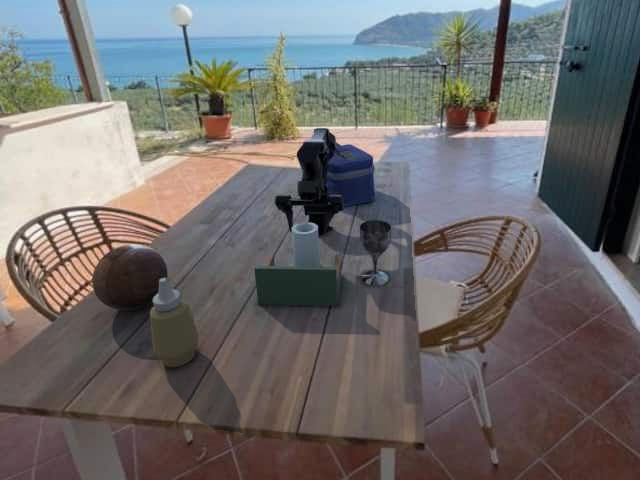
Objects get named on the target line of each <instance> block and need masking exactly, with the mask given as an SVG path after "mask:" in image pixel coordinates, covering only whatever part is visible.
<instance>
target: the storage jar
mask: <svg viewBox="0 0 640 480" xmlns="http://www.w3.org/2000/svg"><path fill="white" fill-rule="evenodd" d="M291 239H292V240H291V242H292V253H293V254H292V255H293V266H294V267H321V263H320V244H319V241H320V240H319V235H318V226H317V225H316V224H314V223H309V222H308V221H305V222H304V221H303V222H299V223H296V224H293V227H292V232H291Z"/></svg>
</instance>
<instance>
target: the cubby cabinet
mask: <svg viewBox="0 0 640 480" xmlns="http://www.w3.org/2000/svg"><path fill="white" fill-rule="evenodd" d="M275 256H276V253H275V252H268V253H267V255H266V257H265V259H264V261H263V263H262V265H255V267H254V277H255V279H254V280H255V287H256V294H257V295H256V296H257V304H258V306H259V305H262V306H265V305H267V306H312V307H313V306H315V307H338V303H339V296H340V290H341V289H340V288H341V282H342V281H341V279H342V257H343V254H342V253H335V255H334V259H333V266H320V267H294V265H293V266H292V265H291V266H289V265H286V266H284V265H276V263H275Z"/></svg>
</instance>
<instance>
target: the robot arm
mask: <svg viewBox="0 0 640 480" xmlns="http://www.w3.org/2000/svg"><path fill="white" fill-rule="evenodd" d="M336 143H337V139H336V136H335V134H334V133H332V132H330V129H329V128H328V127H316V128H314V129H313V134H312V135H311V138H310V139H305V140H304V141H302V144H301V145H300V147H299V148H298V150H297V151H296V158H297V161H298V164H299V166H300V169H301V173H302V174H301V179H300V180H298V181H297V190H296V191H297V196H298V197H299V198H292V196H291V194H290V193H289V194H287V193H286V194H282V193H279V194H278V193H277V195H275V197H274V205H275V206H276V208H277V209H278V211H281V213H283V214H285V217H286V221H287V225H288V229H289V232H290V233H292V227H293V226H294V211H293V207H296V206H298V207H303V211H304V216H308V221H307V222H309V223H314V224H316V225H317V226H318V236H322V235H324V234H326V233H328V232H330V231H331V230H333V228H334V227H333V226H331V225H330V224H331V222H332V220H333V218H334V217H335V216H336V214H339V213H340V212H343V211H344V208H345V206H344V201H343V197H342V196H341V195H329V192H328V190H327V186H326V182H327V173H328V164H329V160H330V159H331V158H332V157H333V156H334V150H336Z"/></svg>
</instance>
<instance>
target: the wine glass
mask: <svg viewBox="0 0 640 480" xmlns="http://www.w3.org/2000/svg"><path fill="white" fill-rule="evenodd" d="M359 239H360V244H361V247H362V249H363V250H364V252H366V253H367V254H368V255H369V257H370V258H371V260H372V266H373V269H372V270H368V271H365V272H364V273H362V275H361V277H360V279H361V281H362V282H363V283H364V284H366V285H368V286H371V287H373V286H374V287H377V286H378V287H379V286H383V285H384V284H386V283H387V282H388V281H389V276H388V274H386V272H384V271H381V270H377V265H378V260H379V258H380V257H381V256H382V255H383V254H384V253H385V252H386V251H387V250H388V248H389V246H390V243H391V239H392V225H391V224H390V223H389V222H387V221H384V220H381V219H380V220H378V219H371V220H366V221H363V222H362V223H361V224H360V225H359Z"/></svg>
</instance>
